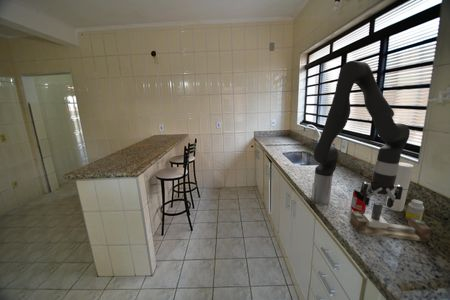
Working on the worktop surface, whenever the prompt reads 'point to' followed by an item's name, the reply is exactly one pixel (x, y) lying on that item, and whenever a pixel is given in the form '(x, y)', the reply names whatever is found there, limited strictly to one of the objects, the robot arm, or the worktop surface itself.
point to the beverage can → (358, 201)
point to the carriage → (376, 217)
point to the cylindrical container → (402, 184)
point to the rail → (391, 233)
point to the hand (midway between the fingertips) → (377, 205)
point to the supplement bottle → (415, 209)
